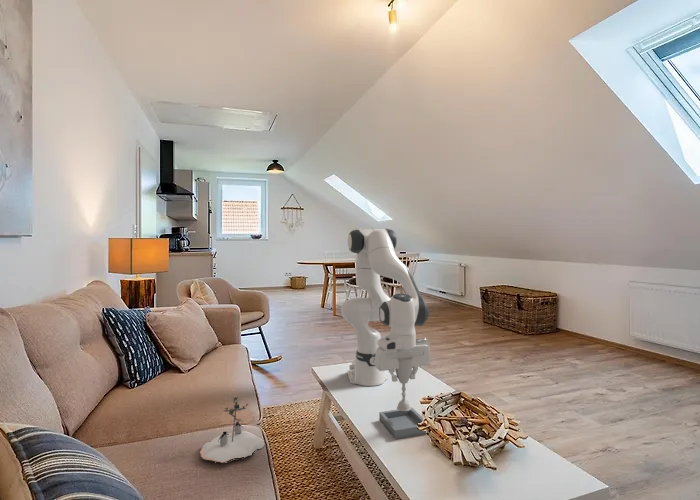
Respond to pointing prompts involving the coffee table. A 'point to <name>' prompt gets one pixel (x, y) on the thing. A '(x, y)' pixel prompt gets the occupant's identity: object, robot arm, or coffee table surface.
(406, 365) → the chalice
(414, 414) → the tray
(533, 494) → the coffee table surface
